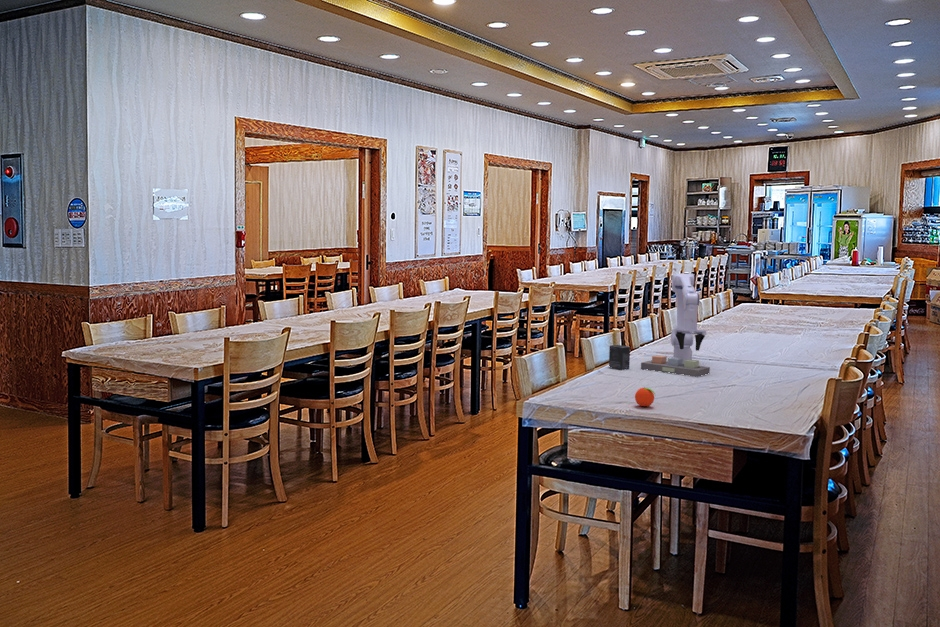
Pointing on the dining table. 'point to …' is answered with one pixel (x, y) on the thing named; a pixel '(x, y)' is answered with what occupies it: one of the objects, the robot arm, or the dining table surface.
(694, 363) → the sage button
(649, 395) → the clementine
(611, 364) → the box
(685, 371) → the button panel
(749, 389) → the dining table surface
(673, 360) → the slate button
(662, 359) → the terracotta button
